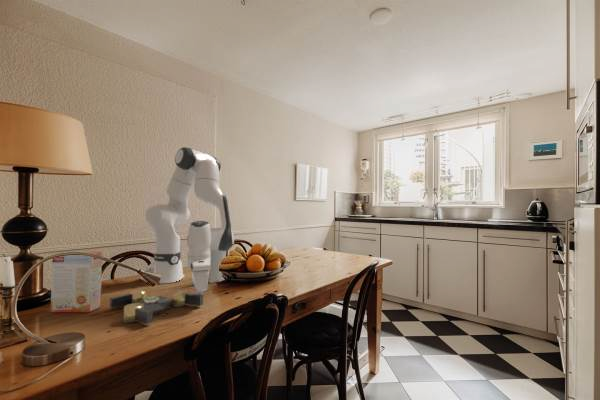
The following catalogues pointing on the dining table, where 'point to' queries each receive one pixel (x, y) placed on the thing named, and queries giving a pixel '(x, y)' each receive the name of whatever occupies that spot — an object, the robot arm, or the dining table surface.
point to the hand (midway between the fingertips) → (198, 296)
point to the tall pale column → (216, 265)
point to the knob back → (127, 298)
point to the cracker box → (76, 283)
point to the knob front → (137, 313)
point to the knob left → (186, 299)
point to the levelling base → (155, 303)
